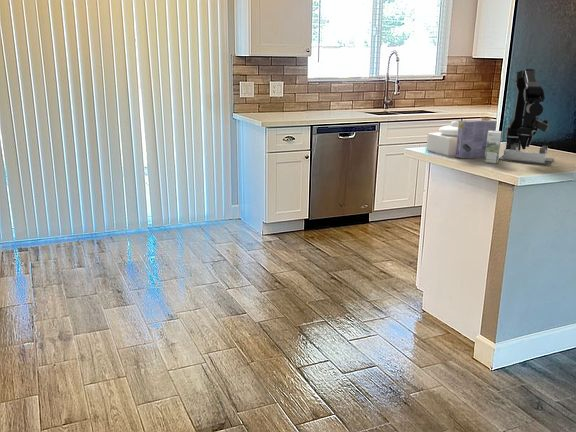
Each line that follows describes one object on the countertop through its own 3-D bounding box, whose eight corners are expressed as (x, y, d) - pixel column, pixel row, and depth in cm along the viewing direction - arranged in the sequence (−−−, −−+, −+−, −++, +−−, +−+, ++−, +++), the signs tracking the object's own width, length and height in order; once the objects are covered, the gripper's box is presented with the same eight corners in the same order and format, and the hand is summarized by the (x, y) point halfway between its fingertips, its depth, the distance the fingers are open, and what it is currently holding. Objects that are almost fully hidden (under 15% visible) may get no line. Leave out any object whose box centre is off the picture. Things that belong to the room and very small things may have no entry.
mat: (497, 160, 261) (497, 158, 261) (501, 157, 267) (501, 156, 267) (548, 165, 250) (548, 164, 250) (550, 163, 255) (550, 161, 255)
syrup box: (498, 162, 257) (502, 130, 253) (497, 164, 252) (501, 132, 247) (485, 160, 259) (489, 129, 255) (484, 163, 254) (487, 131, 250)
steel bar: (503, 158, 261) (504, 150, 260) (505, 157, 264) (506, 149, 263) (544, 163, 252) (545, 154, 251) (545, 161, 255) (546, 153, 254)
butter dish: (447, 156, 270) (451, 123, 266) (425, 150, 286) (428, 119, 282) (476, 154, 277) (480, 122, 272) (453, 148, 293) (456, 118, 288)
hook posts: (501, 157, 268) (503, 144, 266) (505, 155, 274) (507, 142, 272) (550, 162, 256) (553, 149, 254) (553, 160, 263) (555, 146, 261)
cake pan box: (488, 155, 273) (492, 119, 267) (494, 157, 268) (499, 120, 263) (454, 157, 267) (457, 120, 262) (460, 159, 263) (463, 121, 258)
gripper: (546, 117, 240) (540, 152, 245) (552, 113, 255) (547, 147, 260) (518, 115, 246) (514, 150, 250) (527, 111, 261) (522, 144, 265)
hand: (525, 148), depth 256 cm, fingers open, 9 cm apart
